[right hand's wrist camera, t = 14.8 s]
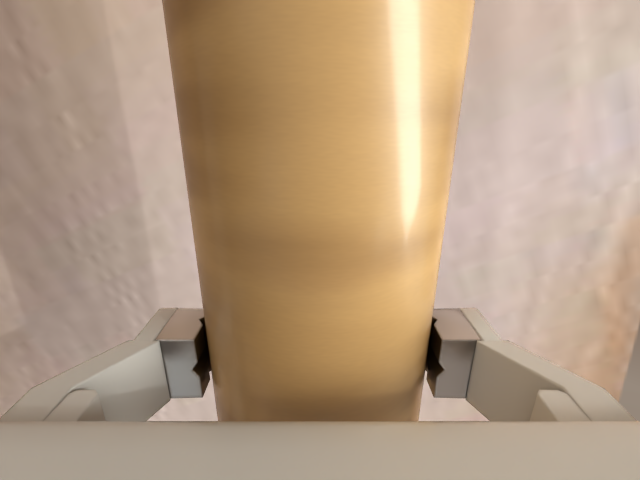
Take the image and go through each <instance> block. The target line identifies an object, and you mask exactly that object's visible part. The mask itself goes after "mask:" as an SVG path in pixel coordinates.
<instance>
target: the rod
mask: <svg viewBox="0 0 640 480" xmlns="http://www.w3.org/2000/svg"><path fill="white" fill-rule="evenodd" d="M162 3H163V10H164V18H165V25H166V33H167V40H168V48H169V55H170V63H171V70H172V78H173V85H174V93H175V100H176V108H177V115H178V123H179V130H180V138H181V145H182V153H183V161H184V168H185V176H186V183H187V191H188V198H189V206H190V213H191V221H192V228H193V236H194V243H195V251H196V258H197V266H198V273H199V281H200V288H201V296H202V303H203V311H204V318H205V326H206V333H207V341H208V349H209V356H210V364H211V371H212V379H213V386H214V394H215V401H216V409H217V416H218V421H418V419H419V411H420V404H421V397H422V389H423V382H424V374H425V367H426V360H427V352H428V345H429V337H430V330H431V323H432V315H433V308H434V300H435V293H436V286H437V278H438V271H439V263H440V256H441V249H442V241H443V234H444V226H445V219H446V212H447V204H448V197H449V190H450V182H451V175H452V167H453V160H454V153H455V145H456V138H457V130H458V123H459V116H460V108H461V101H462V93H463V86H464V79H465V71H466V64H467V56H468V49H469V42H470V34H471V27H472V19H473V12H474V5H475V0H162Z"/></svg>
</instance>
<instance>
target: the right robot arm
mask: <svg viewBox="0 0 640 480" xmlns="http://www.w3.org/2000/svg"><path fill="white" fill-rule="evenodd" d="M425 370H426V371H427V382H428V384H429V386H430V389H431V391H432V394H433V396H434V397H437V398H466V400H467V401H468V402H469V403H470V404H471V405H472V406H474V407H475V408H476V409H477V410H478V411H479V412H480V413H481V414H483V415H484V416H485V417H486V418H487V419H488V420H489V421H147V420H148V419H149V418H150V417H151V416H153V415H154V414H155V413H156V412H157V411H158V410H159V409H161V408H162V407H163V406H164V405H165V404H166V403H168V402H169V401H170V398H198V397H203V395H204V393H205V390H206V388H207V385H208V383H209V381H210V375H209V372H210V371H211V364H210V356H209V349H208V341H207V333H206V326H205V318H204V311H203V309H199V308H162V309H159V310H158V311H157V312H156V314H155V315H154V316H153V317H152V319H151V320H150V321H149V322H148V323H147V325H146V326H145V327H144V328H143V330H142V331H141V332H140V333H139V334H138V336H137V337H136V338H135V339H134V341H126V342H124V343H122V344H120V345H118V346H116V347H114V348H112V349H110V350H108V351H106V352H104V353H102V354H100V355H98V356H96V357H94V358H92V359H90V360H88V361H86V362H84V363H82V364H80V365H77V366H75V367H73V368H71V369H69V370H67V371H65V372H63V373H61V374H59V375H57V376H55V377H53V378H51V379H49V380H47V381H45V382H43V383H41V384H39V385H37V386H35V387H33V388H31V389H30V390H29V391H28V392H27V393H26V394H25V395H24V396H23V397H22V398H21V399H20V400H19V401H18V402H17V403H15V404H14V405H13V406H12V407H11V408H10V409H9V410H8V411H7V412H6V413H5V414H4V415H3V416H2V417H1V418H0V480H640V421H637V420H636V419H635V418H634V417H633V416H632V415H631V414H630V413H629V412H628V411H627V410H626V409H625V408H624V407H623V406H622V405H620V403H619V402H618V401H617V400H616V399H614V398H613V397H612V396H611V395H610V394H609V393H608V392H607V391H606V390H605V389H604V388H602V387H600V386H598V385H596V384H594V383H592V382H590V381H588V380H586V379H584V378H582V377H580V376H578V375H576V374H574V373H572V372H570V371H568V370H566V369H564V368H562V367H560V366H558V365H556V364H554V363H552V362H550V361H548V360H546V359H544V358H542V357H540V356H538V355H536V354H534V353H532V352H530V351H528V350H526V349H524V348H522V347H520V346H518V345H516V344H514V343H512V342H510V341H503V340H502V339H501V338H500V337H499V335H498V334H497V333H496V332H495V330H494V329H493V328H492V327H491V326H490V324H489V323H488V322H487V321H486V319H485V318H484V317H483V316H482V314H481V313H480V312H479V311H478V309H476V308H453V309H433V315H432V323H431V330H430V337H429V345H428V352H427V360H426V367H425Z"/></svg>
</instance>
